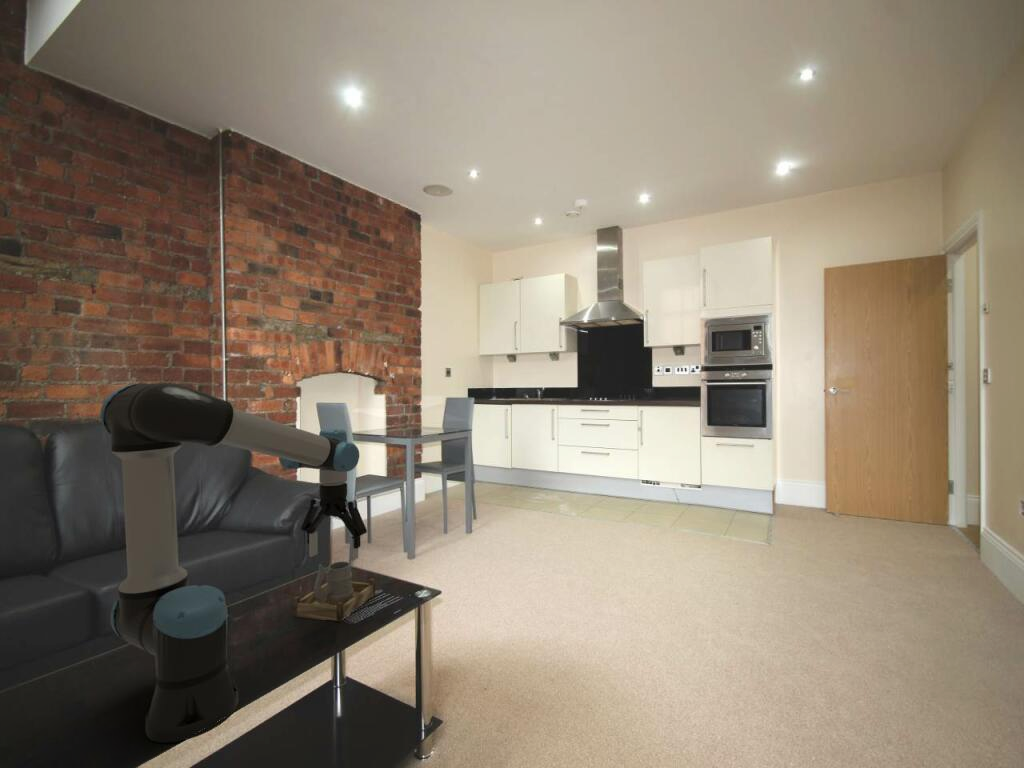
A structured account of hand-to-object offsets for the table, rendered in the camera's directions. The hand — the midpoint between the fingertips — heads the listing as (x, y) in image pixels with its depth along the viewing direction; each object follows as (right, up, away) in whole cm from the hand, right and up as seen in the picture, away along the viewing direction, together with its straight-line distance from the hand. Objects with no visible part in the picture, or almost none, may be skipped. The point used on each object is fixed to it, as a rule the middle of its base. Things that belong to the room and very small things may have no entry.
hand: (333, 557), depth 141 cm
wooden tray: (+1, -14, +1) cm, 14 cm away
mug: (0, -13, +1) cm, 13 cm away
